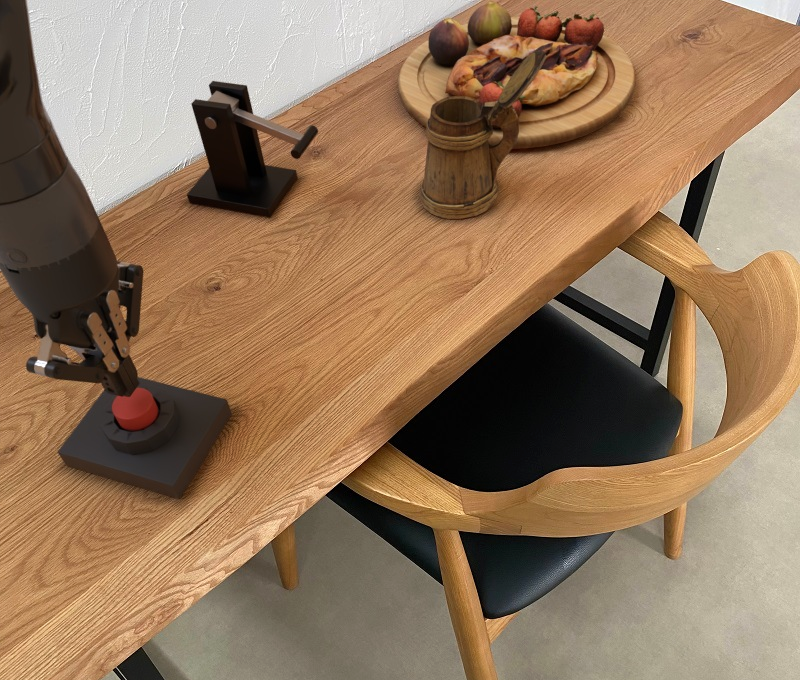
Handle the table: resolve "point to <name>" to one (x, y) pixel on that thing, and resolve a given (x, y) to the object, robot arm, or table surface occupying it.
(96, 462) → the button box
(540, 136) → the wooden plate
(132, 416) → the button
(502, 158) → the wooden mug
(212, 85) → the bracket
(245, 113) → the lever
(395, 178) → the table surface
